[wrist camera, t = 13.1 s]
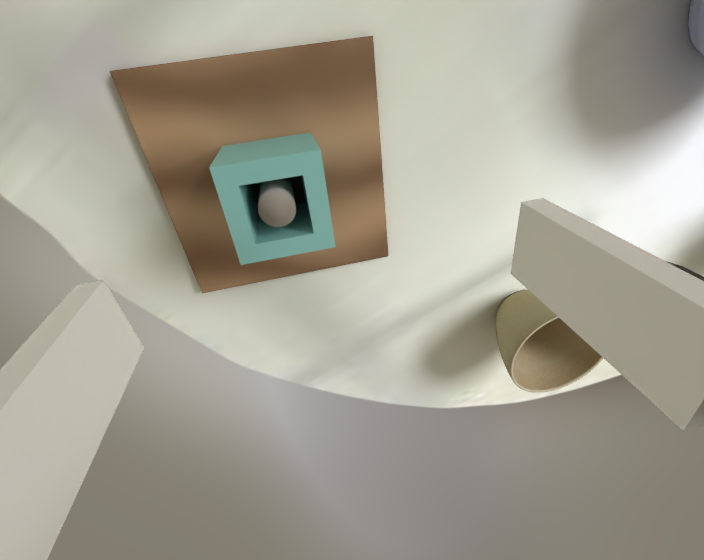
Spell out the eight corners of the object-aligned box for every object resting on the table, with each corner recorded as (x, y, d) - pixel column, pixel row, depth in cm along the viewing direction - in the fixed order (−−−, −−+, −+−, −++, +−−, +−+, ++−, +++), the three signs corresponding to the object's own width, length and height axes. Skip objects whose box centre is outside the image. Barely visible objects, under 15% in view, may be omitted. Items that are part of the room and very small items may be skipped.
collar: (222, 145, 24) (209, 167, 19) (310, 132, 24) (320, 149, 19) (246, 227, 27) (240, 265, 22) (324, 213, 28) (335, 247, 23)
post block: (113, 71, 21) (58, 73, 16) (370, 36, 23) (401, 27, 17) (203, 289, 30) (188, 340, 24) (386, 253, 32) (410, 293, 26)
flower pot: (535, 250, 35) (591, 289, 29) (574, 303, 40) (628, 345, 34) (456, 315, 37) (492, 364, 31) (501, 357, 42) (540, 406, 36)
